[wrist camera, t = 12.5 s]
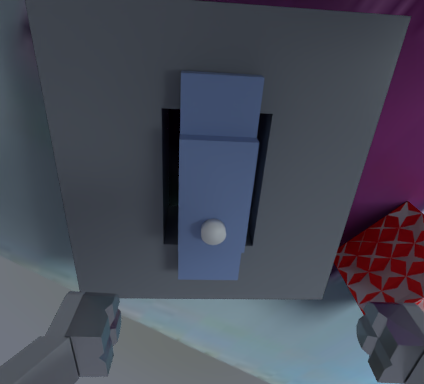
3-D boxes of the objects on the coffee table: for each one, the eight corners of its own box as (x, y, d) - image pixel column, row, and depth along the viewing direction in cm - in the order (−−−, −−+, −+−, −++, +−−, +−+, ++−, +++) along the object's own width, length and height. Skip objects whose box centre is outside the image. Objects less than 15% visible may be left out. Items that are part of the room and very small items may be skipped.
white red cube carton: (446, 252, 29) (524, 324, 22) (372, 296, 32) (421, 374, 25) (406, 199, 26) (482, 263, 19) (328, 253, 29) (370, 327, 22)
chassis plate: (362, 17, 20) (411, 16, 15) (302, 256, 28) (322, 299, 24) (63, -5, 18) (22, -13, 14) (99, 253, 27) (81, 297, 23)
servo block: (246, 62, 21) (270, 82, 14) (228, 227, 27) (240, 296, 20) (184, 59, 20) (179, 77, 14) (181, 226, 26) (177, 295, 20)
